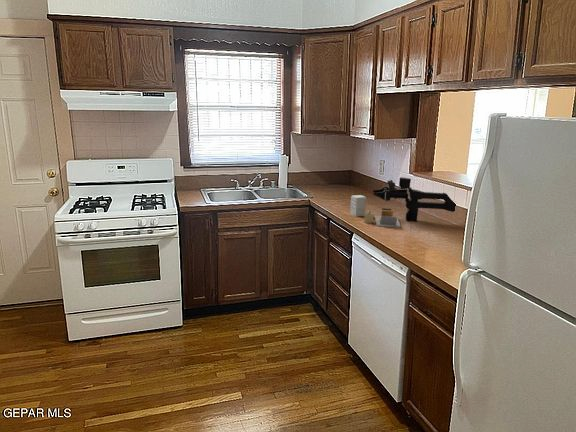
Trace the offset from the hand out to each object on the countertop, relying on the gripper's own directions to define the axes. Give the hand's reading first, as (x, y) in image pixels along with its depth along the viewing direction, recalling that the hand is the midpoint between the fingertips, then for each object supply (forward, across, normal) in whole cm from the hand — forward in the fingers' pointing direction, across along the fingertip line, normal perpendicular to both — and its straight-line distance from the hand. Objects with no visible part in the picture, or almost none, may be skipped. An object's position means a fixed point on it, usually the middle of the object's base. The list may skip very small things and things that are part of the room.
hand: (373, 192), depth 280 cm
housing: (+2, +12, +17) cm, 21 cm away
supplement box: (+9, -6, +17) cm, 20 cm away
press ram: (-9, +2, +15) cm, 18 cm away
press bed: (-9, +9, +17) cm, 21 cm away
